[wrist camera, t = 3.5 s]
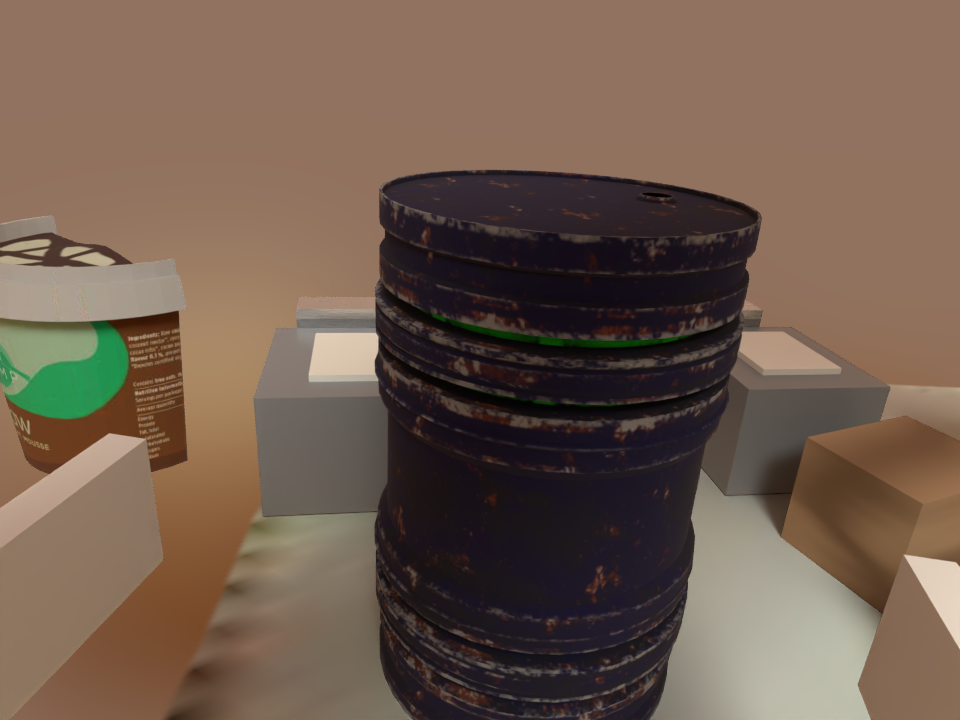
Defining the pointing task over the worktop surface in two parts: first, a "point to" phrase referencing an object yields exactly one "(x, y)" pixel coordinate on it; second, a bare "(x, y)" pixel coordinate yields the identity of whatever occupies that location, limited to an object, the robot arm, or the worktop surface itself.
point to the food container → (88, 346)
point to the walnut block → (876, 502)
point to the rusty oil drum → (546, 433)
